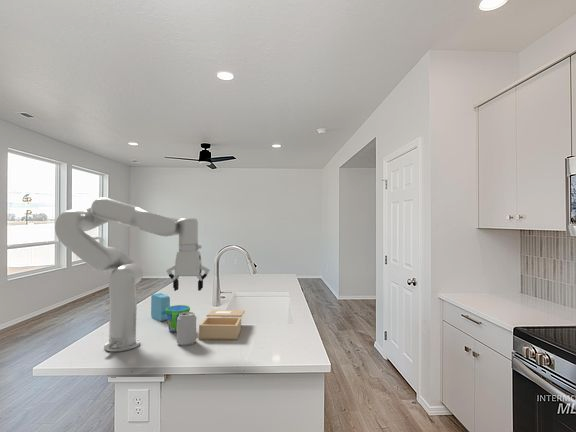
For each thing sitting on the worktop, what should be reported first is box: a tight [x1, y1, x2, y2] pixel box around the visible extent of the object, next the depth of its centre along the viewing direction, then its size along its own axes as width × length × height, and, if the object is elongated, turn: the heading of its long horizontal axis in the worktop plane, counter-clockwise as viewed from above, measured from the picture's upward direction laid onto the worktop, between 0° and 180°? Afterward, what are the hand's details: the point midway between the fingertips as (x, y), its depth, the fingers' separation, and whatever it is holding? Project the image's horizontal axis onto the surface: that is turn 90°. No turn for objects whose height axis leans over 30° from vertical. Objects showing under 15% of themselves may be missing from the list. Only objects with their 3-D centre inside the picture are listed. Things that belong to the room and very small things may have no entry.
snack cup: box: [166, 304, 191, 333], centre depth 149 cm, size 16×10×10 cm
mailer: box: [198, 316, 242, 341], centre depth 143 cm, size 12×16×6 cm
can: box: [176, 311, 197, 347], centre depth 133 cm, size 8×8×12 cm
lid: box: [206, 309, 246, 318], centre depth 156 cm, size 12×16×1 cm
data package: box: [150, 292, 171, 322], centre depth 167 cm, size 12×4×12 cm, turn 46°
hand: (188, 290), depth 134 cm, fingers open, 9 cm apart
